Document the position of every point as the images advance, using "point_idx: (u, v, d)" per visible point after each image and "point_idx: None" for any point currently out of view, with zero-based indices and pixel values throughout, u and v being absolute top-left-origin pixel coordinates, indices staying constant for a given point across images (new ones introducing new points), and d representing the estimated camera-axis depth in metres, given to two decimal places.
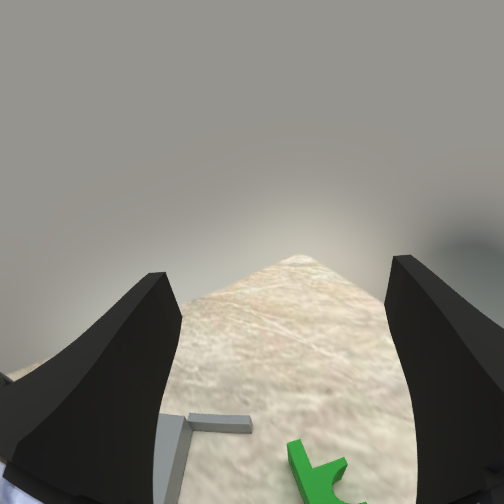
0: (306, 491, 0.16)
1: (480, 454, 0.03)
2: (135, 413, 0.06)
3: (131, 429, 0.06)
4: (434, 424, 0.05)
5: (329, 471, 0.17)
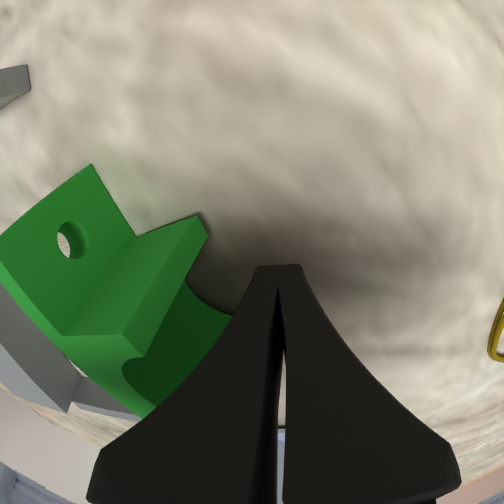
0: (86, 373, 0.08)
1: None
2: (274, 422, 0.06)
3: (274, 441, 0.06)
4: None
5: (103, 356, 0.06)
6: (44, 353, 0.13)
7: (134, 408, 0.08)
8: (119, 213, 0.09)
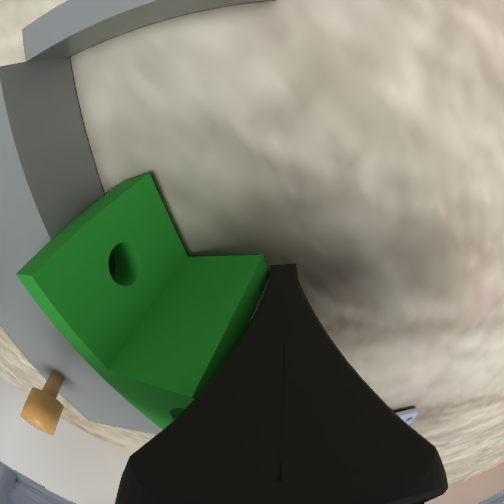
0: (121, 393, 0.08)
1: None
2: None
3: None
4: None
5: (154, 397, 0.06)
6: None
7: (162, 425, 0.09)
8: (173, 230, 0.09)
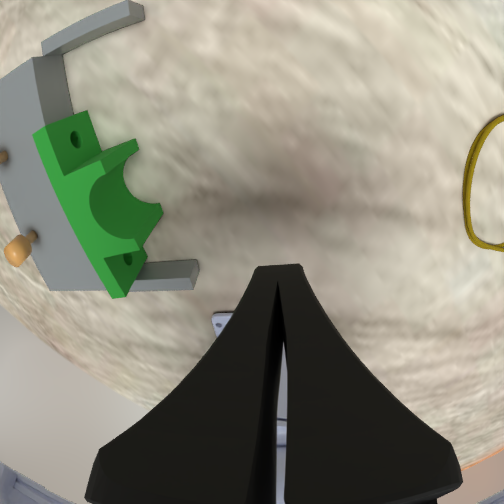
0: (64, 210, 0.14)
1: None
2: (273, 423, 0.06)
3: (273, 441, 0.06)
4: None
5: (83, 182, 0.13)
6: None
7: (84, 238, 0.15)
8: (96, 137, 0.16)
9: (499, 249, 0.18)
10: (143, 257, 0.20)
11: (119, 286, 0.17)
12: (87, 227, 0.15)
